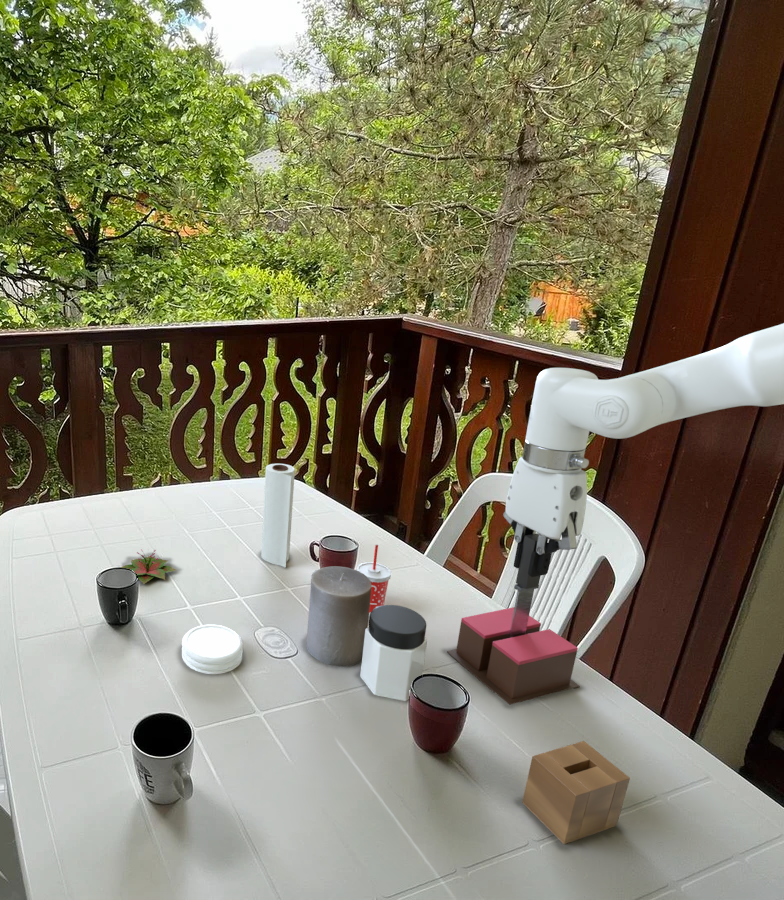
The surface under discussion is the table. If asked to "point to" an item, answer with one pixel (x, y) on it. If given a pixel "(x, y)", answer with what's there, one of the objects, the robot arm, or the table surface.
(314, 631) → the pillar candle
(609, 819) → the knife block
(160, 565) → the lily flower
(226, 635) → the coaster
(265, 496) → the paper towel roll
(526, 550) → the knife
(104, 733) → the table surface
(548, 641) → the cake
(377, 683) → the jar
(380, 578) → the beverage cup
